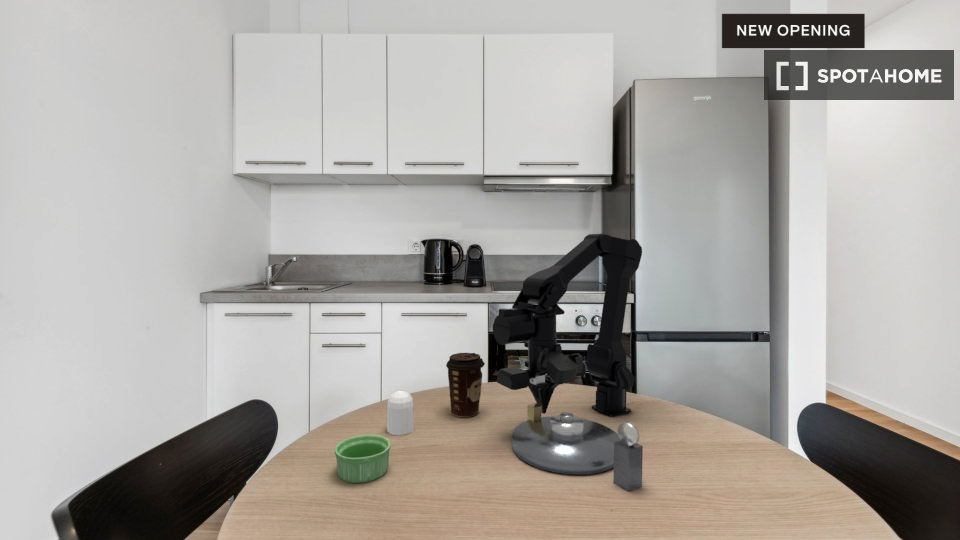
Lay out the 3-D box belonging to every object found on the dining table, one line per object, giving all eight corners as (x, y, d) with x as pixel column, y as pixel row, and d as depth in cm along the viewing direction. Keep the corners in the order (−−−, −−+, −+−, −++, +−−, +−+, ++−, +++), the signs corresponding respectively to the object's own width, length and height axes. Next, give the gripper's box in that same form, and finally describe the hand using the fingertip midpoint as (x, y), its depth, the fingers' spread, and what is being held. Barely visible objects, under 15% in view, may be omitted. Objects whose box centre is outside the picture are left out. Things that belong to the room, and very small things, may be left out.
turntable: (566, 418, 95) (566, 395, 95) (646, 454, 79) (647, 425, 78) (491, 440, 84) (491, 413, 84) (565, 487, 68) (566, 454, 67)
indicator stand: (625, 477, 71) (626, 417, 71) (642, 487, 68) (644, 424, 68) (612, 481, 70) (613, 421, 69) (629, 492, 67) (630, 428, 66)
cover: (566, 428, 85) (567, 406, 85) (590, 439, 80) (590, 416, 80) (543, 435, 82) (543, 412, 82) (566, 447, 77) (566, 423, 77)
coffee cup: (486, 407, 103) (486, 352, 102) (482, 420, 95) (483, 360, 94) (449, 405, 104) (449, 351, 103) (443, 418, 96) (442, 359, 95)
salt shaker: (415, 424, 92) (415, 387, 92) (412, 435, 87) (411, 395, 87) (389, 424, 92) (389, 387, 92) (385, 435, 87) (384, 395, 87)
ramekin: (400, 463, 76) (400, 438, 76) (371, 490, 67) (371, 462, 67) (356, 455, 79) (356, 431, 78) (322, 480, 70) (322, 453, 70)
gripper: (528, 352, 77) (529, 438, 78) (605, 339, 87) (605, 416, 88) (495, 341, 87) (496, 417, 88) (567, 330, 96) (567, 399, 97)
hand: (543, 413), depth 90 cm, fingers closed
